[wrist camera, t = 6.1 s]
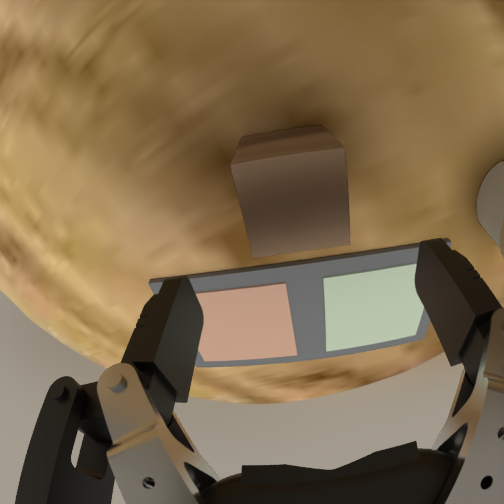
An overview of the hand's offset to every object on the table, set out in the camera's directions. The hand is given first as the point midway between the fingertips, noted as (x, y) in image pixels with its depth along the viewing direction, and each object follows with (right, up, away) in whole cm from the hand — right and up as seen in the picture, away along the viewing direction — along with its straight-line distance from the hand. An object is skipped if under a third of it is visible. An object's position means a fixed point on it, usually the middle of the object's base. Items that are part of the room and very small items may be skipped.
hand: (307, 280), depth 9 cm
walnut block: (+1, +6, +9) cm, 11 cm away
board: (+3, -5, +16) cm, 17 cm away
